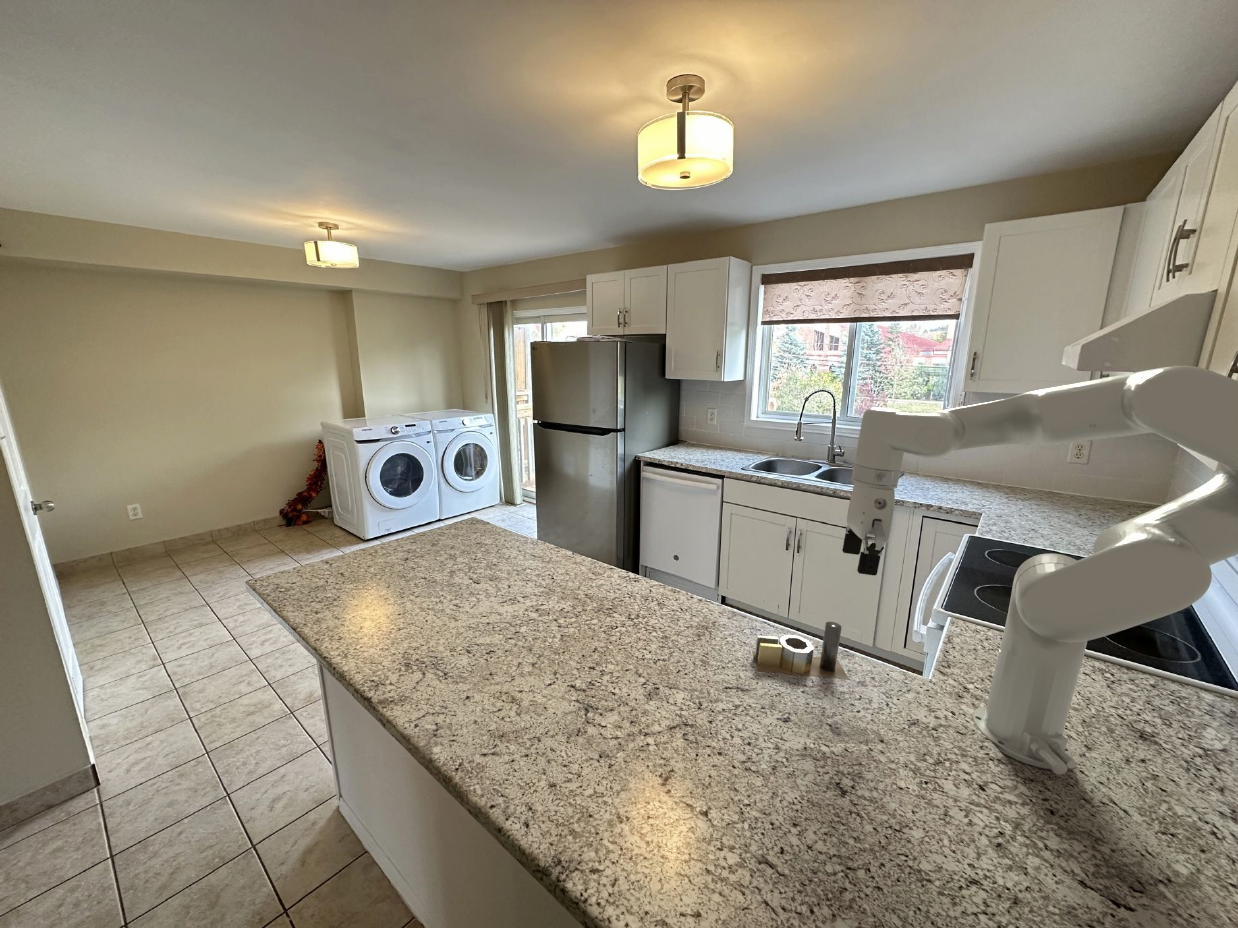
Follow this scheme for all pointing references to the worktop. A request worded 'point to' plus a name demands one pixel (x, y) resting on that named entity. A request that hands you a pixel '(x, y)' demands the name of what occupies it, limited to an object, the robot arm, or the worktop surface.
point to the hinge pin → (830, 646)
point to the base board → (814, 671)
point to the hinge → (784, 653)
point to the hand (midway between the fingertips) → (858, 563)
